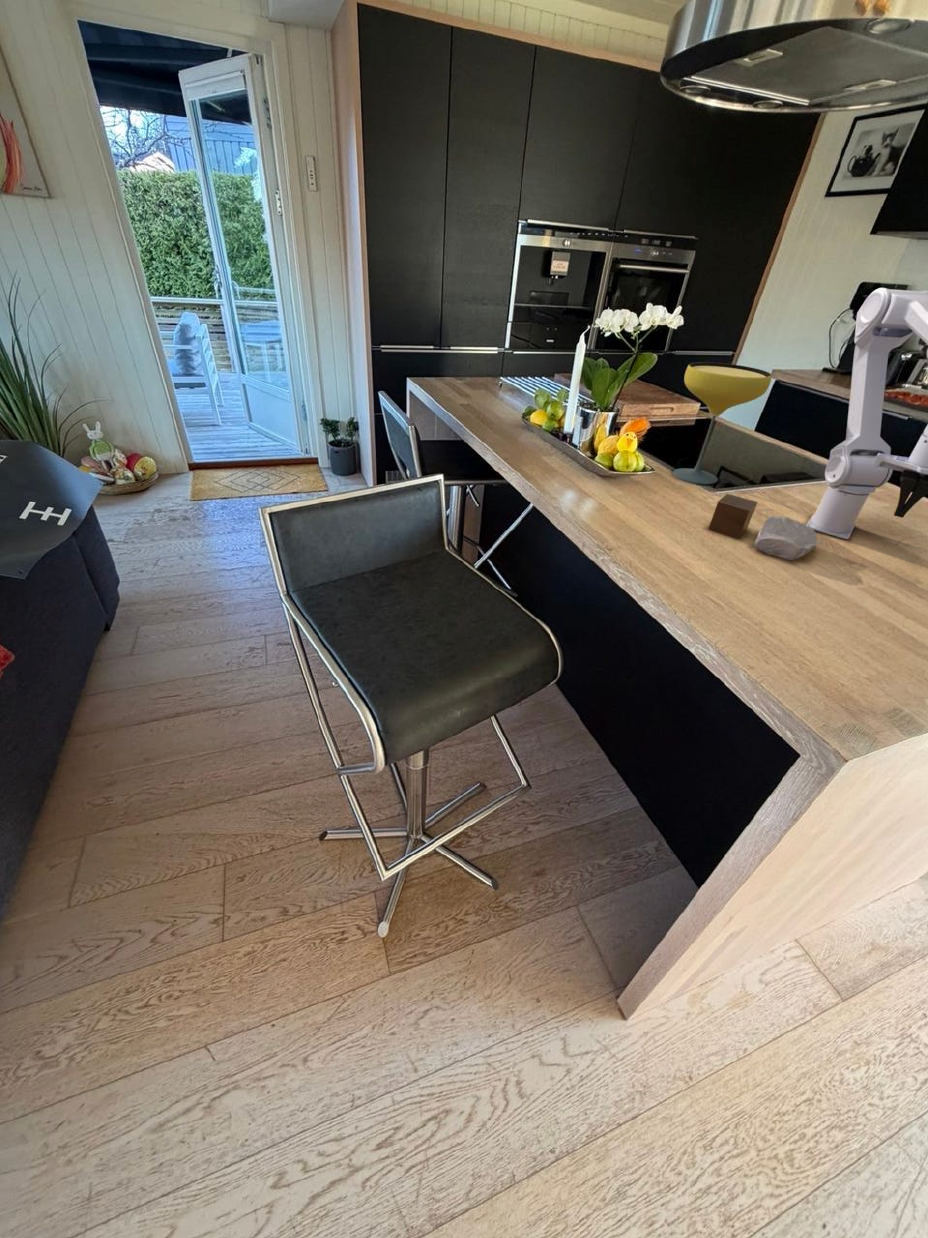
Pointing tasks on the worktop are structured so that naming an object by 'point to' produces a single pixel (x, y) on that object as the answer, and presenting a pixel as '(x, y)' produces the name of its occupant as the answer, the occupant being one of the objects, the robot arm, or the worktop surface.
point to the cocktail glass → (720, 399)
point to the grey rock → (785, 538)
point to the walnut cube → (732, 515)
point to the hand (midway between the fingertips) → (898, 515)
